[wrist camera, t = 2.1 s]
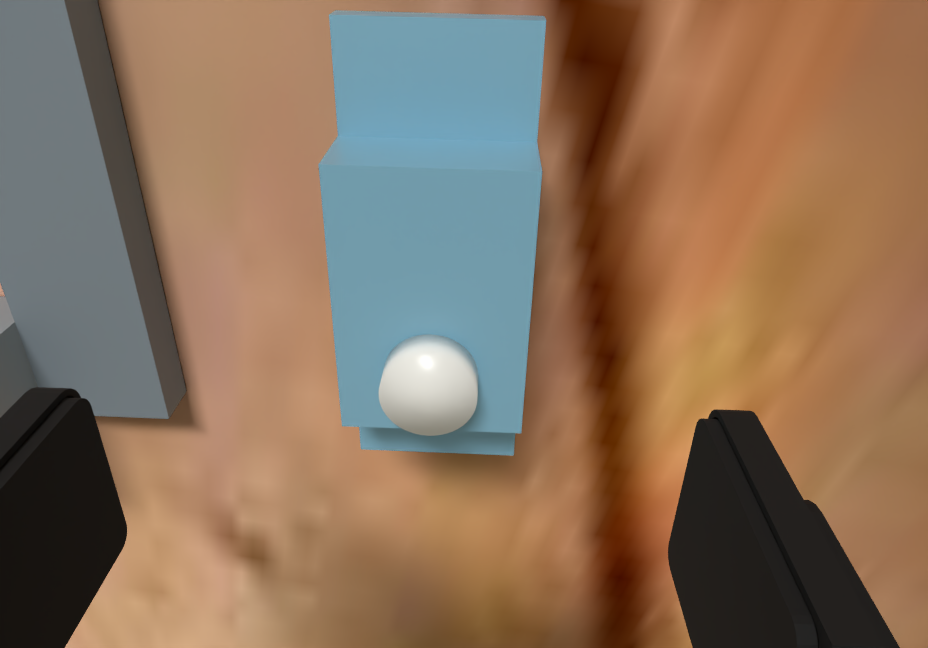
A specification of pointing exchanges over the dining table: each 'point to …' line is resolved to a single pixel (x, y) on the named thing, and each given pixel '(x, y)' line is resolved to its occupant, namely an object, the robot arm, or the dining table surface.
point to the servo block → (433, 225)
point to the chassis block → (75, 224)
